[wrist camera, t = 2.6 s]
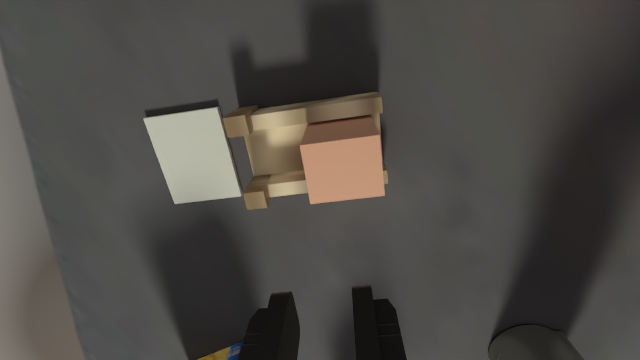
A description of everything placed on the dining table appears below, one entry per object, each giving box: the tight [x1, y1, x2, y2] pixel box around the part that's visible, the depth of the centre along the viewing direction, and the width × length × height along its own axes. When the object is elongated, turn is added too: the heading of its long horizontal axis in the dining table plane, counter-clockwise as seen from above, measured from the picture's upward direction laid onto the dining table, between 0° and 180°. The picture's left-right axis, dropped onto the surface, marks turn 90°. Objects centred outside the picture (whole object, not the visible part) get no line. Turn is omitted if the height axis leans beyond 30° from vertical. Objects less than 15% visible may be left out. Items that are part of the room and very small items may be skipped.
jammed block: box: [300, 115, 385, 204], centre depth 28 cm, size 6×5×8 cm
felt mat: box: [143, 107, 243, 204], centre depth 34 cm, size 8×10×1 cm
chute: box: [223, 91, 388, 210], centre depth 31 cm, size 14×9×5 cm, turn 99°
